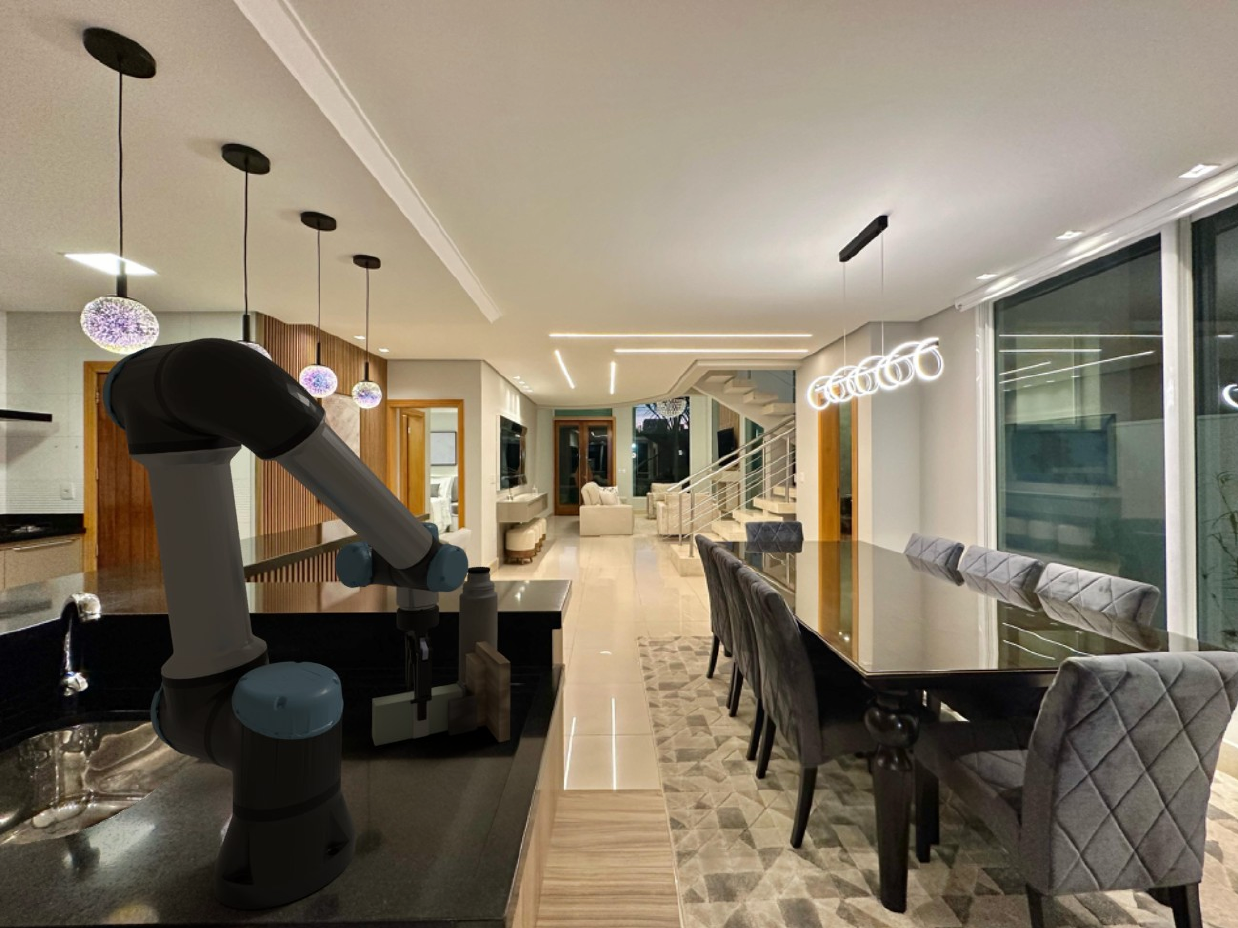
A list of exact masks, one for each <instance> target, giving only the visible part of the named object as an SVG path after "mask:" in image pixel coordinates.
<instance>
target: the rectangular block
mask: <svg viewBox="0 0 1238 928" xmlns="http://www.w3.org/2000/svg"><path fill="white" fill-rule="evenodd" d="M462 697H466V687H465V686H464V685H463V684H462V683H461V681H459V680H456V683H453V684H447V685H443V686H442V685H441V686H436V687H435V686H434V687H432V700H431V701H429V735H432V734H437V733H441V732H448V700H452V699H457V698H462ZM410 700H414V691H412V692H410V691H406V692H401V693H397V694H396V693H395V694H390V695H386V696H380V697H374V698H372V700H371V701H372V703H371V705H372V709H371V715H372V718H371V721H372V723H371V725H372V726H371V738H372V740H373V741H372V742H373V744H374V746H375V747H377V746H380V745H386V744H391V743H395V742H396V743H397V742H399V741H404V740H405V741H406V740H410V739H413V704H410Z"/></svg>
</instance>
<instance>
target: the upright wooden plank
mask: <svg viewBox="0 0 1238 928" xmlns="http://www.w3.org/2000/svg"><path fill="white" fill-rule="evenodd" d="M462 684H463V685H464V686H465V687H466V697H462V698H457V699H452V700H448V730H447V734H448V735H449V736H450V737H451V736H455V735H460V734H465V733H469V732H473V731H477V730H478V728H480V727H481V728H482V727H485V726H486V727H487V729H488V730H489V732H491V734H492V735H493V736H494V738H495V739H496V741H498V743H502V742H506V741H510V740H511V661H510V660H508V659H507V658H506V657H505V656H504V655H502V654H501V653H500V652H499V651H498V649H497V650H495V649H494V648H493V647H492V646H491V645H489V644H488V643H487V642H486V641H484V642H477V643H476V653H470V654H466V684H465V683H462Z"/></svg>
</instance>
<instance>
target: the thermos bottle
mask: <svg viewBox="0 0 1238 928" xmlns="http://www.w3.org/2000/svg"><path fill="white" fill-rule="evenodd" d="M490 573H491V567H489V566H473V567H468V573H467V576H466V581H464V582H463V584H462V588H461V590H462V593H460V594H459V596H458V597H459V605H458V606H459V607H458V609H459V611H458V612H459V613H458V614H459V615H458V616H459V617H458V621H459V623H458V631H459V632H458V681H461V683H465V684H466V654H470V653H476V643H477V642H484V641H486V642H487V643H488V644H489V645H491V646H492V647H493V648H494V649H495V650H497V651H498V608H499V607H498V600H499V599H498V598H499V597H498V592H496V591H495V588H496V586H495V582H494V581H493V580H491V574H490Z"/></svg>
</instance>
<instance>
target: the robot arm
mask: <svg viewBox="0 0 1238 928" xmlns="http://www.w3.org/2000/svg"><path fill="white" fill-rule="evenodd" d="M289 373H290V372H288V371H287V370H285V369H284V368H282V366H280V365H278V364H277V363H276V362H275V361H273V360H272V359H270V358H269V357H268V356H266V355H265V354H264V353H261V352H259V350H256V349H255V348H252V347H250V346H248V345H246V344H244V343H242V342H238V341H234V340H231V339H226V338H219V337H203V338H196V339H192V340H190V341H183V342H175V343H169V344H167V343H166V344H160V345H152V346H148V347H143V348H142V349H140V350H139V349H138V350H137V351H136V352H133V353H130V354H128V355H126V356H124V357H123V358H122V359H119V361H118V362H117V363H115V364H114V365H113V366H112V368H110V370H109V372H108V373H107V375H106V377H105V379H104V381H103V385H102V396H101V397H102V402H103V406H104V409H105V411H106V413H107V414H108V416H109V419H111V421H112V422H113V424H115V425H116V426H117V427H118V428H120V430H122V431H124V432H125V435H126V436H125V437H126V444H127V449H128V456H129V458H131V459H132V460H134V461H135V462H136V463H138V464H140V465H141V466H143V467H145V469H146V471H147V473H148V474H147V475H148V482H149V489H150V496H151V497H150V498H151V503H152V509H153V510H152V511H153V517H154V523H155V529H156V538H157V539H156V540H157V545H158V551H159V558H160V559H159V560H160V565H161V573H162V579H163V585H164V595H165V599H166V606H167V614H168V620H169V621H168V622H169V629H170V634H171V641H172V642H171V643H172V648H173V653H172V655H171V656H170V657H169V658H167V660H166V661H165V663H164V664H163V665H162V666H161V668H160V669H161V671H160V674H161V681H162V682H161V684H160V685H161V686H160V687H159V689H158V691H155V693H154V695H153V698H152V702H151V705H150V722H151V725H152V728H153V730H154V733H155V734H156V736H157V737H158V738H159V739H160V741H162V742H163V743H164V744H165V745H168V746H169V748H171V749H173V750H174V751H175V752H177V753H179V754H181V755H186V756H189V757H190V758H191V757H192V758H195V759H198V760H201V761H204V762H207V763H210V764H212V765H215V766H218V767H220V768H224V769H226V770H229V771H231V772H232V813H231V818H230V821H229V823H228V827H227V829H226V832H225V834H224V838H223V840H222V843H221V846H220V847H219V852H218V854H217V857H216V860H215V862H214V866H213V867H214V868H213V881H212V882H213V883H212V885H213V888H212V889H213V894H214V897H216V899H217V900H218V902H220V903H222V905H225V906H227V907H230V908H233V909H237V910H259V909H260V910H261V909H262V910H263V909H268V908H273V907H276V906H277V907H278V906H282V905H285V904H288V903H292V902H294V901H297V900H299V899H302V898H304V897H306V896H307V897H308V895H311V894H313V893H315V892H316V891H318V890H320V889H322V888H324V887H325V886H326V885H328V884H330V882H332V881H334V880H335V879H336V878H337V877H338V876H340V874H341V873H342V872H344V871H345V870H346V868H347V867H348V866H349V865H350V863H351V861H352V859H354V855H355V852H356V827H355V824H354V821H353V818H352V815H351V813H350V810H349V808H348V805H347V802H346V799H345V797H344V794H343V791H342V780H341V779H342V751H343V750H342V748H343V747H342V745H343V742H342V741H343V738H342V737H343V712H344V711H343V709H344V699H343V694H342V693H343V692H342V684H341V683H342V682H341V680H340V677H339V676H338V674H337V673H336V672H335V671H334V670H333V669H331V668H329V667H328V666H325V665H322V664H320V663H315V662H311V661H310V662H309V661H302V662H295V661H281V662H274V663H270V661H269V659H270V658H269V653H268V644H267V642H266V641H265V640H263V638H260V637H258V636H255V635H254V634H253V631H252V630H253V629H252V625H251V617H250V609H249V600H248V593H247V586H246V585H247V583H246V577H245V570H244V569H245V568H244V562H243V561H244V559H243V553H242V545H241V537H240V530H239V523H238V514H237V508H236V500H235V492H234V491H235V490H234V483H233V476H232V469H231V467H232V466H231V463H232V462H231V461H232V459H234V458H235V456H236V455H237V454H238V453H239V452H240V450H242V447H243V446H244V447H245V448H247V449H248V450H249V451H250V452H251V453H253V454H254V455H255V456H256V457H257V458H258V459H259V460H261V461H265V462H271V461H272V462H273V461H274V462H276V464H277V463H278V464H279V466H280V467H282V468H283V470H285V471H286V472H288V474H289V475H291V476H292V478H294V479H295V480H296V481H297V482H298V483H300V485H302V486H303V487H304V488H305V489H306V490H308V492H310V493H311V495H313V496H314V497H315V498H316V499H318V501H319V502H321V503H322V504H323V505H324V506H325V507H326V508H327V509H329V511H331V512H332V513H333V514H334V515H335V516H336V517H337V518H338V519H339V520H340V521H342V522H343V523H344V524H346V526H347V527H349V528H350V530H351V531H353V532H355V534H356V535H358V536H359V537H360V538H361V540H358V541H355V542H349V543H346V544H345V545H343V546H342V547H341V548H340V549H339V550H338V552H337V553H336V557H335V560H334V561H335V567H334V568H335V573H336V577H337V579H338V581H340V583H341V584H342V585H343V586H345V587H347V588H350V589H356V588H366V587H367V586H368V587H369V586H371V585H373V586H374V585H378V586H386V587H387V586H388V587H395V590H396V591H395V592H396V593H395V594H396V597H395V598H396V599H395V601H396V605H397V606H398V608H396V628H397V629H399V631H400V630H401V631H404V636H403V637H404V643H405V644H404V645H405V646H404V647H405V680H404V683H405V685H406V690H407V692H412V691H414V700H410V704H413V738H412V739H417V738H418V739H419V738H421V737H427V736H429V735H430V734H429V701H431V700H432V688H433V687H432V683H433V681H432V680H433V679H432V678H433V671H432V670H433V655H434V654H433V653H434V649H433V647H432V637H431V636H429V633H428V632H429V630H430V629H433V628H436V627H437V626H438V625H439V623H440V607H439V605H438V602H440V601H439V600H440V594H439V593H451V592H454V591H457V590H458V589H459V588H460V587H461V586H463V584H464V583H465V579H467V575H468V568H469V559H468V556H467V554H466V551H465V550H464V549H463V548H462V547H461V546H458V545H454V544H452V543H442V542H440V534H439V527H438V525H437V524H436V523H433V522H426V521H424V522H423V521H422V522H421V521H420V520H419V519H418V518H417V517H416V516H415V514H413V513H412V512H411V511H410V510H409V508H407V507H406V505H405V504H404V503H403V502H402V500H400V499H399V498H398V497H397V495H395V494H394V492H392V491H391V490H390V489H389V488H388V487H387V486H386V484H385V483H384V482H383V481H382V480H381V479H380V477H378V476H377V475H376V474H375V473H374V472H373V470H372V469H370V468H369V466H368V465H367V464H366V463H365V462H364V461H363V460H362V459H361V458H360V457H359V456H358V454H356V453H355V451H354V450H352V448H351V447H350V446H349V445H348V444H347V443H346V442H345V441H344V440H343V439H342V438H341V437H340V435H338V434H337V433H336V431H335V430H334V429H332V428H331V427H330V425H329V424H328V423H327V422H326V416H327V412H326V410H325V407H323V405H321V404H320V402H318V400H317V399H316V397H314V396H313V395H312V394H311V393H310V392H309V391H308V390H307V389H306V388H305V386H303V385H302V384H301V383H300V382H299V381H297V379H295V378H294V377H293V375H291V374H289Z"/></svg>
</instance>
